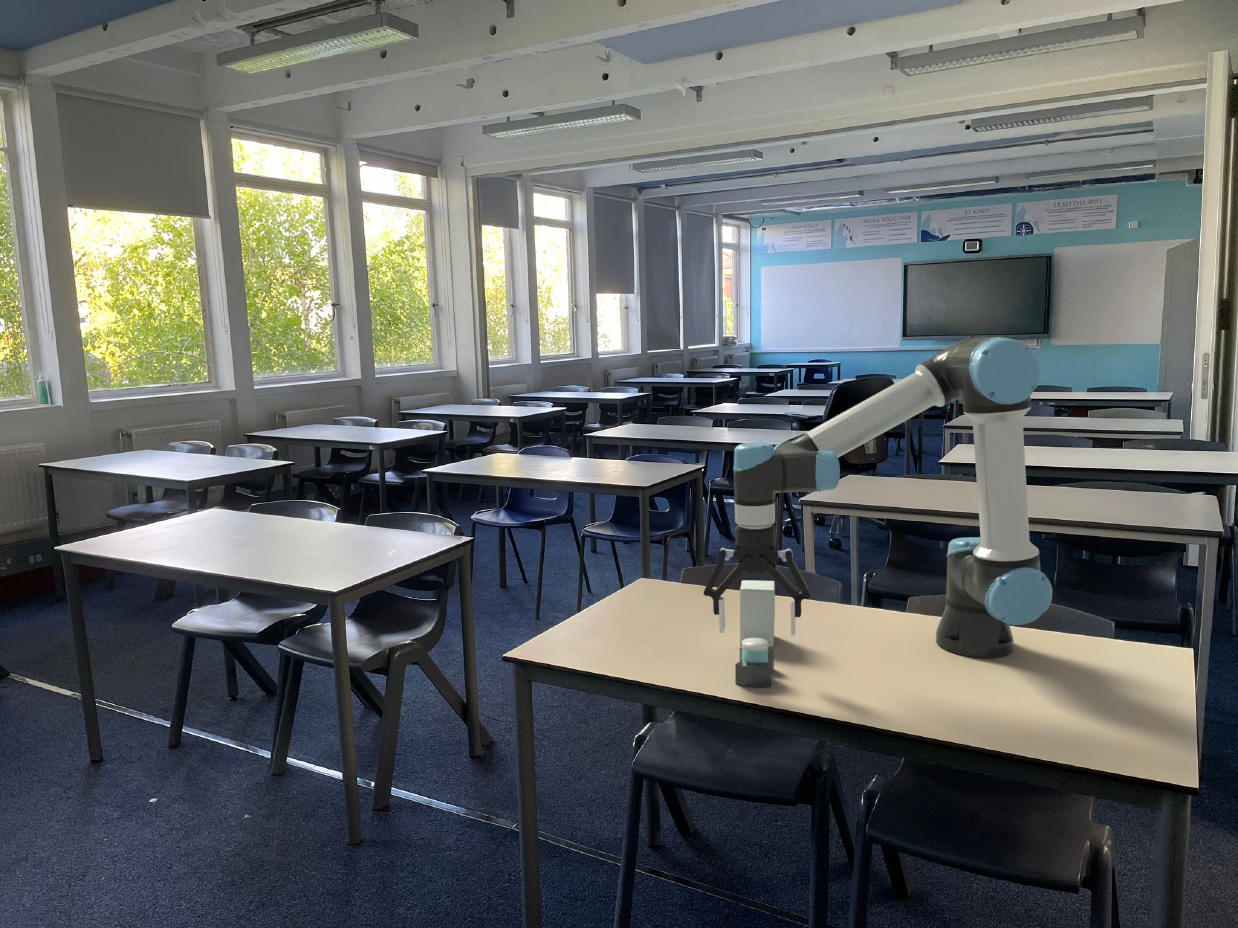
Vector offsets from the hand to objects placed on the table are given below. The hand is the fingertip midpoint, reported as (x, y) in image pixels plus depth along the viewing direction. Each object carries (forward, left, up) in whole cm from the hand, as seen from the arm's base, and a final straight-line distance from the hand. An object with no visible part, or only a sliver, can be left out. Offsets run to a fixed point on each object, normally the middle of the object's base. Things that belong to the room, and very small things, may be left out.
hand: (757, 631), depth 167 cm
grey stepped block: (0, 0, -9) cm, 9 cm away
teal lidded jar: (0, 0, -9) cm, 9 cm away
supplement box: (+1, -20, -9) cm, 22 cm away
